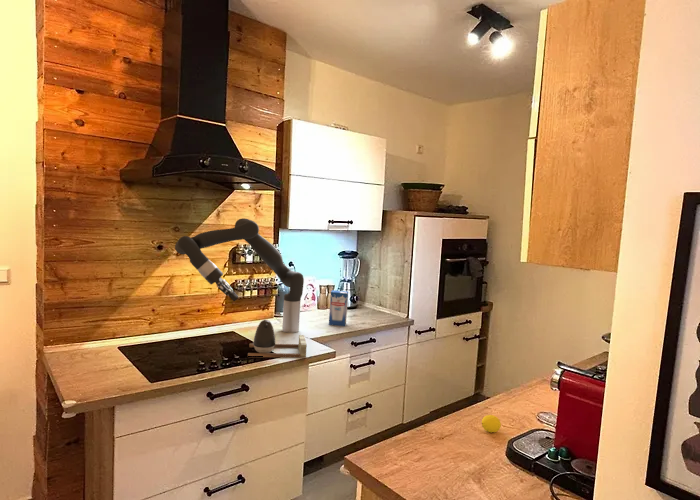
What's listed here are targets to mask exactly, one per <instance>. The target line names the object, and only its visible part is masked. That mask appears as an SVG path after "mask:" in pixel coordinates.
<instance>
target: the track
mask: <svg viewBox="0 0 700 500" xmlns="http://www.w3.org/2000/svg"><path fill="white" fill-rule="evenodd" d="M248 348H254V345H253V343H249V347H248ZM274 348H275V349H276V348H277V349H278V348H279V349H280V348H281V349H282V348H283V349H285V348H286V349H289V348H290V349H291V348H292V349H298V352H299V353H297V352H296V353H294V352H293V353H291V352H290V353H288V352H287V353H286V352H285V353H284V352H282V353H281V352H275V353H274V352H272V353H271V352H269V353H259V352H248V353H247V357H248V356H263V357H262V358H302V359H303V358H307V341H306V337H305V335H304V334H302V335H301V334H300V335H298V343H275V346H274Z"/></svg>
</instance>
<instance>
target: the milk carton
mask: <svg viewBox="0 0 700 500" xmlns="http://www.w3.org/2000/svg"><path fill="white" fill-rule="evenodd" d="M348 300H349V291H345V290H333V289H332V290H331V291H330V299H329V313H328V314H329V316H328V325H329V326H339V327H340V326H341V327H345V326H346V325H347V316H348Z"/></svg>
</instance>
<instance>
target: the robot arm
mask: <svg viewBox="0 0 700 500" xmlns="http://www.w3.org/2000/svg"><path fill="white" fill-rule="evenodd" d="M259 231H260V227H259V225H258V224H257V222H255V221H254V220H251V219H249V218H239V219H237V220H236V221H235V224H234V227H231V228H225V229H212V230H209V231H204V232H200V233H198V234H196V235H194V236H192V237H190V236H188V235H184V236H180V237H179V239H178V240H177V242H175V245H174V249H175V252H176V253H178V254H180V255H186V256H187V257H188V258H189V262H190V264H191V265H192V266H193V267H194V268H195V269H196V270H197V271H198V273H199V274H200V275H201V277H203V278H204V280H206V281H207V282H208V283H209V285H213V284H214V283H215V285H217V286H216V287H217V288H218V290H220V291H221V292H222V293H223V294H224V295H225V296H228V297H229V298H230V299H231V300H232V301H233V302H235V301H237V300H238V298H239V296H238V294H237V293H236V292H235V291H234V290H233V287H231V285H230V284H229V283H228V282H227V280H226V279H223V278H222V276H223V275H224V273H223V271H221V269H219V267H218V266H217V265H216V264H215V262H213V261H212V260H210V259H209V258H208V257H207V255H206V254H205V253H203V251H202V249H207V248H209V247H213V246H216V245H219V244H224V243H228V242H233V241H239V240H244V241H245V242H246V243H247V244H248V245H249V246H251V248H252V249H253V250H254V252H255V253H256V254H257V255H258V256H259V258H260V259H261V260H262V261H263V262H264V263H265V264H266V265H267V266H268V267H269V268H270V270H271V271H273V272H274V273H275V274H276V276H277V277H278V279H279V280H280V282H281V283H282V284H283V285H284V286H285V287H287V288H289V292H287V293H286V294H284V296H283V307H282V312H283V313H282V325H281V326H282V328H281V330H282V332H284V333H298V332H299V331H300V317H301V316H300V315H301V301H302V300H301V298H302V296H303V291H304V283H305V279H304V275H303V273H302V272H298V271H293V270H291V269H290V268H288V267H287V265H286V264H285V263H284V260H283V256H282V254H281V252H280V251H279V250H278V249H277V248H276V247H275V246H274V244H272V243H271V242H270V241H268V240H267V239H266V238H265V237H263V236H262V235H260V234H259Z"/></svg>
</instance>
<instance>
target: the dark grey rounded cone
mask: <svg viewBox="0 0 700 500" xmlns="http://www.w3.org/2000/svg"><path fill="white" fill-rule="evenodd" d="M252 344H253V345H254V347H253V348H254V351H256V353H271V352H273V350H274V346H275V344H276V334H275V331H274V326H273V324H272V322H271V321H270V320H269V319H263V320H261V321H260V322H259V323H258V325H257V328H256V331H255V334H254V337H253V342H252Z"/></svg>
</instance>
